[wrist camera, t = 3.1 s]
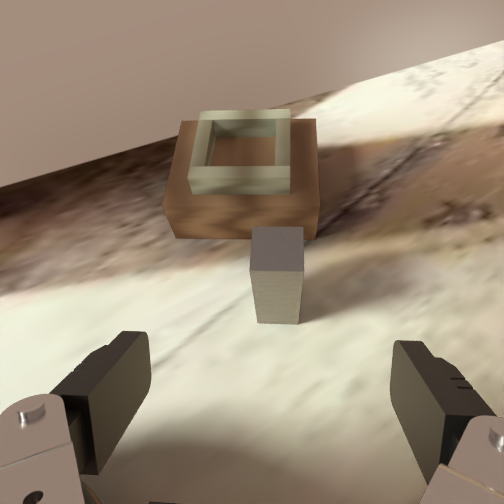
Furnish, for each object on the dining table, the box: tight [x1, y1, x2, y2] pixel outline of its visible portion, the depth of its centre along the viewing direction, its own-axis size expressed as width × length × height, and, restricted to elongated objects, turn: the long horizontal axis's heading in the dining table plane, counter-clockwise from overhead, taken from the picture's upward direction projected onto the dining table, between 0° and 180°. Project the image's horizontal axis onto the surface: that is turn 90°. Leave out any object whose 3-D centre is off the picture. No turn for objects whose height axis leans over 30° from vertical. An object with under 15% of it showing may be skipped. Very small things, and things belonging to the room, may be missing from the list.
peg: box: [250, 227, 304, 324], centre depth 33 cm, size 4×4×11 cm
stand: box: [162, 109, 320, 240], centre depth 41 cm, size 16×13×8 cm
